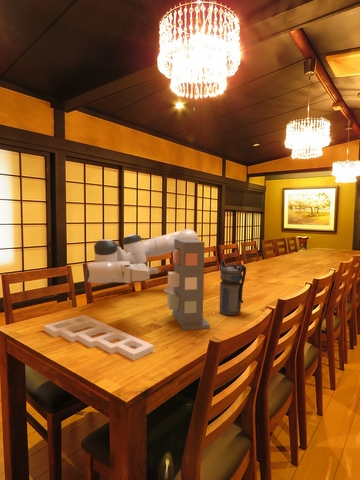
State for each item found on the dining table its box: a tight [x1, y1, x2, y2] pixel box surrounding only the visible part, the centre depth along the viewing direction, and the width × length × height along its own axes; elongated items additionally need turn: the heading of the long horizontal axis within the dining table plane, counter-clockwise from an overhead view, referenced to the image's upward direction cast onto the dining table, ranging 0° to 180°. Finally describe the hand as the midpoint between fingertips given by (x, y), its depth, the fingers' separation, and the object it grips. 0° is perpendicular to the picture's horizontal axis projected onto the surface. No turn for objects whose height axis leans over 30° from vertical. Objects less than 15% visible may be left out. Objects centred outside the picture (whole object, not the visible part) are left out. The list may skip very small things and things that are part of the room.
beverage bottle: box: [219, 260, 247, 316], centre depth 143 cm, size 10×13×25 cm
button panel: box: [171, 239, 211, 331], centre depth 132 cm, size 12×22×36 cm, turn 13°
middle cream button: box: [167, 271, 180, 287], centre depth 130 cm, size 6×6×6 cm
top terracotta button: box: [172, 249, 180, 264], centre depth 130 cm, size 6×6×6 cm
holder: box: [43, 314, 155, 361], centre depth 110 cm, size 45×18×3 cm, turn 48°
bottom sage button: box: [167, 293, 179, 311], centre depth 131 cm, size 6×6×6 cm
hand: (158, 270), depth 127 cm, fingers closed
